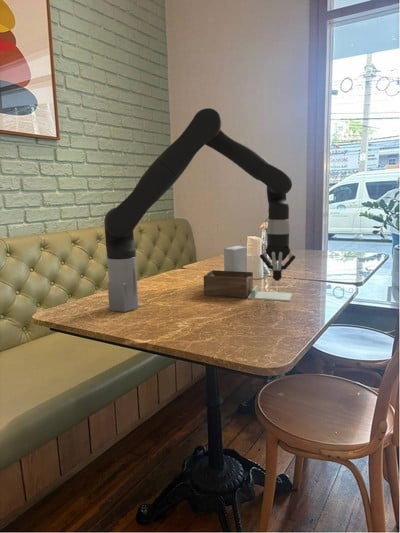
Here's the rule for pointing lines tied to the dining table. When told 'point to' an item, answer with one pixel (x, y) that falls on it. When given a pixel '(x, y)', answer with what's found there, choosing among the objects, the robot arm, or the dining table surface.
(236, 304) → the dining table surface
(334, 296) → the dining table surface
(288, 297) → the lid
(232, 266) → the skincare box
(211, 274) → the box
